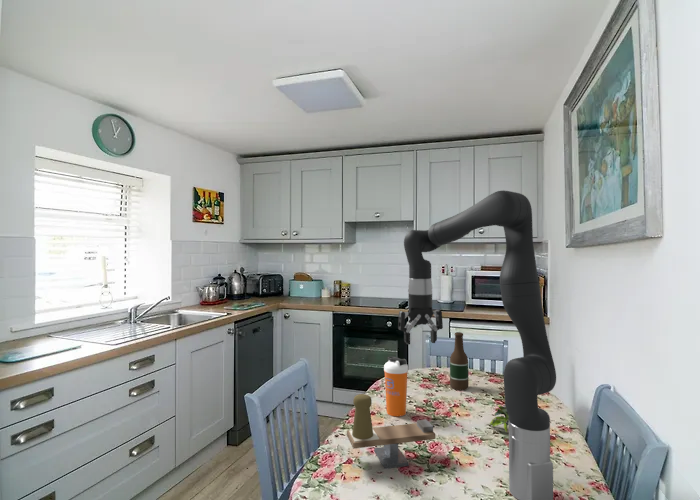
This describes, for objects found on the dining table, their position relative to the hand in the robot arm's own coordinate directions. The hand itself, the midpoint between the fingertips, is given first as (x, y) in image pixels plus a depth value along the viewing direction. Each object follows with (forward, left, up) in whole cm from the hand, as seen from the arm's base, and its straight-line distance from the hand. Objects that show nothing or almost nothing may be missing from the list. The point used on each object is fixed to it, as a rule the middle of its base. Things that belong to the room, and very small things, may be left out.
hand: (420, 343), depth 129 cm
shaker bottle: (+21, +1, -30) cm, 37 cm away
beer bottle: (+41, -35, -30) cm, 62 cm away
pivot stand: (-10, +14, -30) cm, 34 cm away
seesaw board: (-10, +14, -24) cm, 29 cm away
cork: (-10, +22, -23) cm, 33 cm away
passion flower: (-3, -31, -30) cm, 43 cm away
